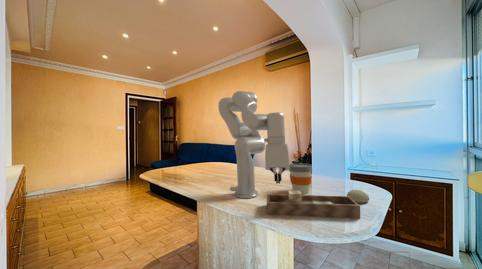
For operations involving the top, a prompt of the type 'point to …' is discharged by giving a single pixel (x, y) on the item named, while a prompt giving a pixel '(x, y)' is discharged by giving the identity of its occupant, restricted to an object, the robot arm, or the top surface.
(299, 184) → the reusable coffee cup
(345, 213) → the tray
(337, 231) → the top surface
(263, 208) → the top surface
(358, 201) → the sea urchin shell
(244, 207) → the top surface
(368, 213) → the top surface
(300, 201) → the maple block
